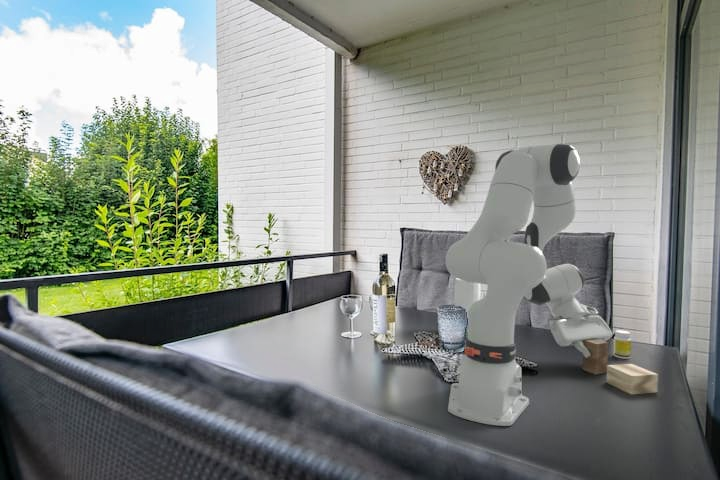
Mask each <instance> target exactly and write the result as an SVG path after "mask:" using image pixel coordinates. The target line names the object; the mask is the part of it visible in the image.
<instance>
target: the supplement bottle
mask: <svg viewBox="0 0 720 480" xmlns="http://www.w3.org/2000/svg"><path fill="white" fill-rule="evenodd" d="M614 335H615V336H614V337H613V348H612V349H613V352H612V353H613V356H614V357H616V358H618V359H624V360H628V359H631V350H632V349H631V347H632V345H631V344H632V341H631V340H632V339H631V337H630V336H631V333H630V332H629V331H628V330H627V331H626V330H621V329H620V330H615V333H614Z"/></svg>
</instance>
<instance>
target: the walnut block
mask: <svg viewBox="0 0 720 480" xmlns="http://www.w3.org/2000/svg"><path fill="white" fill-rule="evenodd" d="M583 345H584V346H585V347H586V348H587V349H590V350H591V352H592V353H593V355H592V356H591V357H587V358H586V357H585V356H584V354H583V353H582V370H584V371H586V372H588V373H591V374H593V375H595V376H596V375H601V374H607V365H608V356H609V355H608V354H609V353H608V352H609V342H607V341H601V340H597V339H590V340H583Z"/></svg>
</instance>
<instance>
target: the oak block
mask: <svg viewBox="0 0 720 480" xmlns="http://www.w3.org/2000/svg"><path fill="white" fill-rule="evenodd" d="M605 382H606V383H607V384H609V385H611V386H612V387H615V388H618V389H619V390H622V391H623V392H626V393H628V394H629V395H639V394H642V395H643V394H655V393H658V388H659V387H658V385H659V383H658V382H659V374H658V373H656V372H653V371H651V370H648V369H646V368H643V367H641V366H638V365H637V364H633V363H622V364H607V373H606V381H605Z"/></svg>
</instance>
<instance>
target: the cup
mask: <svg viewBox="0 0 720 480" xmlns="http://www.w3.org/2000/svg"><path fill="white" fill-rule="evenodd" d="M481 292H482V291H481V284H480V283H473V282H467V281H464V280H461V279H459V278H456V277H455V280H454V305H455V307H456V306H461V307H464V308H465V309H466V312H467V318H468V310H469V308H470V306H471V305H472V304H473V303H475V302H476V301H478V300H481Z"/></svg>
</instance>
